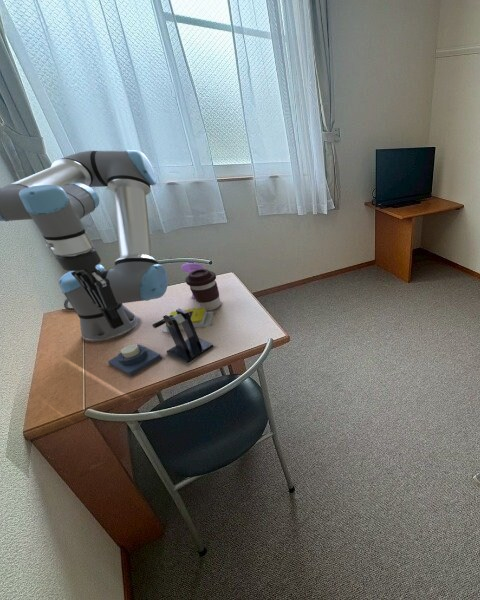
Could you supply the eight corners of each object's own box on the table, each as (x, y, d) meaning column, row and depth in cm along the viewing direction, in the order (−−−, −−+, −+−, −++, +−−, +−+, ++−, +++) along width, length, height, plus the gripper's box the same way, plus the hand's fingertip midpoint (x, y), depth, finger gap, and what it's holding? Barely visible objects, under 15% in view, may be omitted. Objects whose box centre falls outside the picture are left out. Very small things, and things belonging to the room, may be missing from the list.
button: (121, 355, 96) (117, 350, 95) (135, 348, 99) (132, 342, 98) (128, 359, 95) (125, 354, 94) (142, 351, 98) (140, 346, 97)
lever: (155, 329, 101) (150, 323, 100) (173, 320, 105) (169, 313, 104) (172, 327, 94) (167, 320, 93) (191, 317, 99) (186, 310, 98)
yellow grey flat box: (165, 309, 116) (210, 303, 120) (169, 319, 118) (214, 312, 123) (157, 323, 109) (206, 316, 113) (162, 334, 111) (210, 326, 115)
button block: (110, 365, 97) (104, 356, 95) (141, 348, 104) (136, 339, 102) (131, 377, 93) (126, 368, 91) (162, 359, 100) (157, 349, 98)
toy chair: (217, 286, 139) (207, 255, 131) (210, 297, 132) (199, 264, 124) (197, 287, 138) (186, 256, 130) (189, 298, 131) (176, 265, 123)
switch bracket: (167, 354, 102) (149, 317, 94) (194, 339, 109) (179, 303, 101) (188, 364, 98) (171, 326, 91) (214, 348, 105) (200, 311, 98)
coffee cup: (191, 307, 125) (178, 273, 117) (216, 297, 132) (205, 264, 124) (204, 316, 120) (192, 281, 112) (229, 305, 127) (219, 271, 119)
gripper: (42, 251, 79) (89, 326, 92) (70, 262, 74) (116, 339, 87) (78, 241, 85) (118, 313, 97) (107, 251, 80) (145, 325, 93)
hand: (117, 325), depth 92 cm, fingers closed
